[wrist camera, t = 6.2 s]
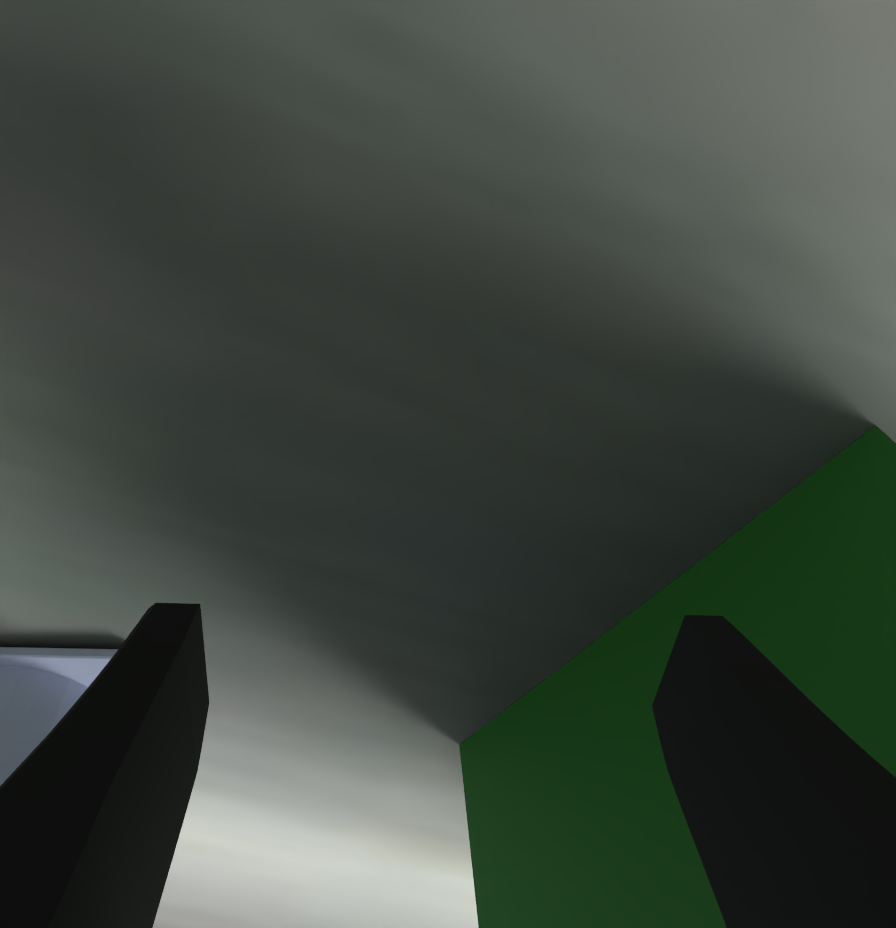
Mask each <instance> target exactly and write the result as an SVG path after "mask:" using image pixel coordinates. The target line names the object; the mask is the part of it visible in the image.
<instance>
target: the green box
mask: <svg viewBox="0 0 896 928" xmlns="http://www.w3.org/2000/svg"><path fill="white" fill-rule="evenodd" d="M685 615H709V616H723V617H725V618H726V619H727V620H728V621H729V622H730V623H731V624H732V625H733V626H734V627H735V628H736V629H738V630H739V631H740V632H741V633H742V634H743V635H744V636H745V637H746V638H747V639H748V640H749V641H750V642H751V643H752V644H753V645H754V646H755V647H756V648H757V649H758V650H759V651H760V652H761V653H762V654H763V655H764V656H765V657H766V658H767V659H768V660H769V661H770V662H771V663H772V664H773V665H774V666H776V667H777V668H778V669H779V670H780V671H781V672H782V673H783V674H784V675H785V676H786V677H787V678H788V679H789V680H790V681H791V682H792V683H793V684H794V685H795V686H796V687H797V688H798V689H799V690H800V691H801V692H802V693H803V694H804V695H805V696H806V697H807V698H808V699H809V700H811V701H812V702H813V703H814V704H815V705H816V706H817V707H818V708H819V709H820V710H821V711H822V712H823V713H824V714H825V715H826V716H827V717H828V718H830V719H831V720H832V721H833V722H834V723H835V724H836V725H837V726H838V727H839V728H840V729H841V730H842V731H844V732H845V733H846V734H847V735H848V736H849V737H850V738H851V739H852V740H853V741H855V742H856V743H857V744H858V745H859V746H860V747H861V748H862V749H863V750H865V751H866V752H867V753H868V754H869V755H870V756H871V757H873V758H874V759H875V760H876V761H877V762H878V763H879V764H881V765H882V766H883V767H884V768H885V769H886V770H888V771H889V772H890V773H891V774H892V775H893V776H895V777H896V443H895V442H894V441H892V440H891V439H890V438H889V437H888V436H887V435H886V434H885V433H884V432H882V431H881V430H880V429H879V428H878V427H877V426H874V427H873V428H872V429H870V430H869V431H868V432H866V433H865V434H864V435H863V436H861V437H860V438H859V439H857V440H856V441H855V442H853V443H852V444H851V445H849V446H848V447H847V448H846V449H844V450H843V451H842V452H840V453H839V454H838V455H836V456H835V457H834V458H833V459H831V460H830V461H829V462H827V463H826V464H825V465H823V466H822V467H821V468H820V469H818V470H817V471H816V472H814V473H813V474H812V475H810V476H809V477H808V478H807V479H805V480H804V481H803V482H801V483H800V484H799V485H797V486H796V487H795V488H794V489H792V490H791V491H790V492H788V493H787V494H786V495H784V496H783V497H782V498H780V499H779V500H778V501H777V502H775V503H774V504H773V505H771V506H770V507H769V508H767V509H766V510H765V511H764V512H762V513H761V514H760V515H758V516H757V517H756V518H754V519H753V520H752V521H751V522H749V523H748V524H747V525H745V526H744V527H743V528H741V529H740V530H739V531H738V532H736V533H735V534H734V535H732V536H731V537H730V538H728V539H727V540H726V541H725V542H723V543H722V544H721V545H719V546H718V547H717V548H715V549H714V550H713V551H712V552H710V553H709V554H708V555H706V556H705V557H704V558H702V559H701V560H700V561H698V562H697V563H696V564H695V565H693V566H692V567H691V568H689V569H688V570H687V571H685V572H684V573H683V574H682V575H680V576H679V577H678V578H676V579H675V580H674V581H672V582H671V583H670V584H669V585H667V586H666V587H665V588H663V589H662V590H661V591H659V592H658V593H657V594H656V595H654V596H653V597H652V598H650V599H649V600H648V601H646V602H645V603H644V604H643V605H641V606H640V607H639V608H637V609H636V610H635V611H633V612H632V613H631V614H629V615H628V616H627V617H626V618H624V619H623V620H622V621H620V622H619V623H618V624H616V625H615V626H614V627H613V628H611V629H610V630H609V631H607V632H606V633H605V634H603V635H602V636H601V637H600V638H598V639H597V640H596V641H594V642H593V643H592V644H590V645H589V646H588V647H587V648H585V649H584V650H583V651H581V652H580V653H579V654H577V655H576V656H575V657H574V658H572V659H571V660H570V661H568V662H567V663H566V664H564V665H563V666H562V667H560V668H559V669H558V670H557V671H555V672H554V673H553V674H551V675H550V676H549V677H547V678H546V679H545V680H544V681H542V682H541V683H540V684H538V685H537V686H536V687H534V688H533V689H532V690H531V691H529V692H528V693H527V694H525V695H524V696H523V697H521V698H520V699H519V700H518V701H516V702H515V703H514V704H512V705H511V706H510V707H508V708H507V709H506V710H505V711H503V712H502V713H501V714H499V715H498V716H497V717H495V718H494V719H493V720H492V721H490V722H489V723H488V724H486V725H485V726H484V727H482V728H481V729H480V730H478V731H477V732H476V733H475V734H473V735H472V736H471V737H469V738H468V739H467V740H465V741H464V742H463V743H462V744H460V755H461V764H462V774H463V783H464V793H465V802H466V812H467V821H468V830H469V840H470V849H471V859H472V868H473V878H474V887H475V897H476V906H477V915H478V925H479V928H726V925H725V922H724V919H723V916H722V914H721V911H720V908H719V906H718V903H717V901H716V898H715V895H714V893H713V890H712V887H711V885H710V882H709V880H708V877H707V874H706V872H705V869H704V866H703V864H702V861H701V859H700V856H699V853H698V851H697V848H696V846H695V843H694V840H693V838H692V835H691V832H690V830H689V827H688V825H687V822H686V819H685V817H684V814H683V811H682V809H681V806H680V803H679V800H678V798H677V795H676V792H675V790H674V787H673V784H672V781H671V779H670V776H669V773H668V770H667V767H666V763H665V759H664V755H663V751H662V747H661V743H660V739H659V735H658V730H657V726H656V721H655V717H654V713H653V708H652V704H653V701H654V699H655V696H656V693H657V690H658V687H659V685H660V682H661V679H662V676H663V674H664V671H665V668H666V665H667V663H668V660H669V657H670V654H671V652H672V649H673V646H674V643H675V641H676V638H677V635H678V632H679V630H680V627H681V624H682V621H683V619H684V616H685Z"/></svg>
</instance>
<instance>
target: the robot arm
mask: <svg viewBox="0 0 896 928" xmlns="http://www.w3.org/2000/svg"><path fill="white" fill-rule="evenodd" d="M208 706H209V695H208V684H207V673H206V663H205V652H204V641H203V630H202V619H201V609H200V604H180V603H155V604H154V605H152V606H151V607H150V608H149V609H148V610H147V611H146V613H145V614H144V615H143V617H142V618H141V620H140V621H139V622H138V624H137V625H136V626H135V628H134V629H133V630H132V632H131V633H130V635H129V636H128V637H127V639H126V640H125V641H124V643H123V644H122V645H121V647H120V648H119V649H73V648H20V647H0V928H152V927H153V924H154V920H155V917H156V913H157V910H158V906H159V903H160V900H161V896H162V893H163V889H164V886H165V882H166V879H167V875H168V872H169V869H170V865H171V862H172V858H173V855H174V851H175V848H176V844H177V841H178V838H179V834H180V831H181V827H182V824H183V820H184V817H185V813H186V810H187V806H188V803H189V799H190V796H191V792H192V789H193V785H194V781H195V778H196V774H197V770H198V765H199V759H200V753H201V748H202V742H203V736H204V730H205V724H206V718H207V712H208ZM652 708H653V713H654V717H655V721H656V726H657V730H658V735H659V739H660V743H661V747H662V751H663V755H664V759H665V763H666V767H667V770H668V773H669V776H670V779H671V781H672V784H673V787H674V790H675V792H676V795H677V798H678V800H679V803H680V806H681V809H682V811H683V814H684V817H685V819H686V822H687V825H688V827H689V830H690V832H691V835H692V838H693V840H694V843H695V846H696V848H697V851H698V853H699V856H700V859H701V861H702V864H703V866H704V869H705V872H706V874H707V877H708V880H709V882H710V885H711V887H712V890H713V893H714V895H715V898H716V901H717V903H718V906H719V908H720V911H721V914H722V916H723V919H724V922H725V925H726V928H896V777H895V776H893V775H892V774H891V773H890V772H889V771H888V770H886V769H885V768H884V767H883V766H882V765H881V764H879V763H878V762H877V761H876V760H875V759H874V758H873V757H871V756H870V755H869V754H868V753H867V752H866V751H865V750H863V749H862V748H861V747H860V746H859V745H858V744H857V743H856V742H855V741H853V740H852V739H851V738H850V737H849V736H848V735H847V734H846V733H845V732H844V731H842V730H841V729H840V728H839V727H838V726H837V725H836V724H835V723H834V722H833V721H832V720H831V719H830V718H828V717H827V716H826V715H825V714H824V713H823V712H822V711H821V710H820V709H819V708H818V707H817V706H816V705H815V704H814V703H813V702H812V701H811V700H809V699H808V698H807V697H806V696H805V695H804V694H803V693H802V692H801V691H800V690H799V689H798V688H797V687H796V686H795V685H794V684H793V683H792V682H791V681H790V680H789V679H788V678H787V677H786V676H785V675H784V674H783V673H782V672H781V671H780V670H779V669H778V668H777V667H776V666H774V665H773V664H772V663H771V662H770V661H769V660H768V659H767V658H766V657H765V656H764V655H763V654H762V653H761V652H760V651H759V650H758V649H757V648H756V647H755V646H754V645H753V644H752V643H751V642H750V641H749V640H748V639H747V638H746V637H745V636H744V635H743V634H742V633H741V632H740V631H739V630H738V629H736V628H735V627H734V626H733V625H732V624H731V623H730V622H729V621H728V620H727V619H726V618H725V617H723V616H709V615H685V616H684V619H683V621H682V624H681V627H680V630H679V632H678V635H677V638H676V641H675V643H674V646H673V649H672V652H671V654H670V657H669V660H668V663H667V665H666V668H665V671H664V674H663V676H662V679H661V682H660V685H659V687H658V690H657V693H656V696H655V699H654V701H653V704H652Z"/></svg>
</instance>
